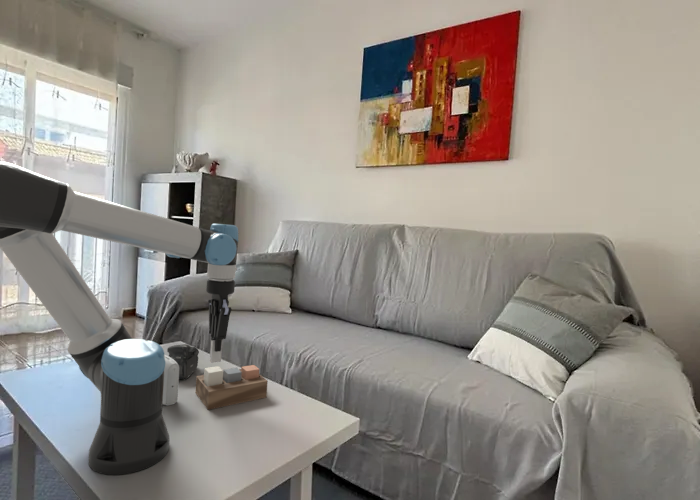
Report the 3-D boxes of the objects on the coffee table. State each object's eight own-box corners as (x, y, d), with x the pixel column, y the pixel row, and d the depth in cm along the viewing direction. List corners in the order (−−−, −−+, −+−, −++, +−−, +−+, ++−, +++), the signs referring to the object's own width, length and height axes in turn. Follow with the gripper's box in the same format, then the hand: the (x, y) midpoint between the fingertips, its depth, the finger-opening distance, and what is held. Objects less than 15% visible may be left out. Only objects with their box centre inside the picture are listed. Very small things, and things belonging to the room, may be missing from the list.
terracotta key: (258, 385, 120) (259, 369, 119) (245, 387, 117) (246, 371, 117) (253, 380, 123) (253, 364, 122) (240, 382, 120) (241, 366, 120)
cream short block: (222, 387, 113) (223, 370, 113) (207, 390, 110) (208, 373, 110) (217, 382, 116) (218, 366, 116) (203, 385, 114) (204, 368, 113)
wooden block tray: (266, 397, 117) (267, 380, 117) (207, 409, 107) (208, 391, 107) (250, 382, 127) (251, 367, 126) (195, 392, 116) (196, 376, 116)
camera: (166, 367, 134) (167, 338, 133) (197, 365, 138) (199, 337, 137) (164, 383, 122) (165, 351, 121) (199, 380, 126) (200, 349, 125)
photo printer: (180, 402, 110) (182, 358, 109) (165, 407, 107) (167, 362, 106) (159, 391, 116) (161, 349, 115) (144, 396, 112) (146, 353, 111)
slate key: (240, 388, 116) (241, 372, 116) (227, 391, 114) (228, 374, 114) (235, 383, 119) (236, 367, 119) (222, 386, 117) (223, 369, 117)
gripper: (242, 282, 109) (236, 367, 110) (226, 275, 119) (220, 352, 120) (215, 282, 104) (208, 370, 105) (200, 275, 115) (195, 355, 116)
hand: (215, 361), depth 113 cm, fingers closed
